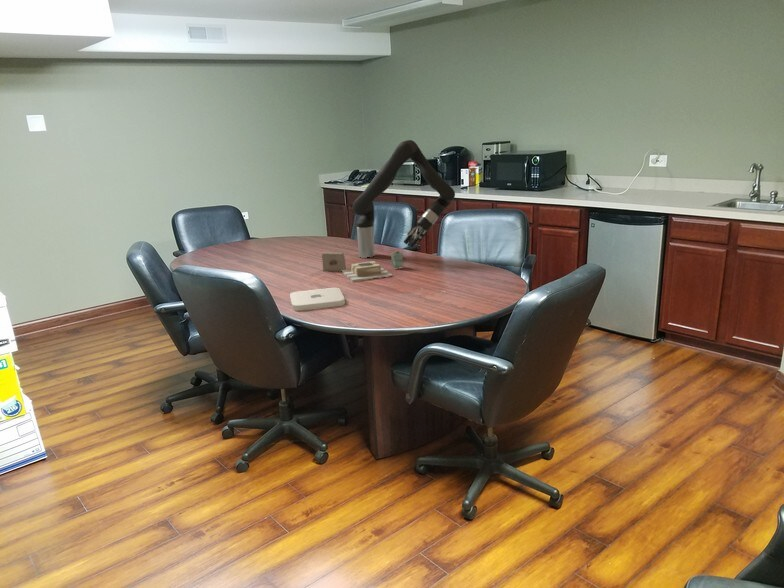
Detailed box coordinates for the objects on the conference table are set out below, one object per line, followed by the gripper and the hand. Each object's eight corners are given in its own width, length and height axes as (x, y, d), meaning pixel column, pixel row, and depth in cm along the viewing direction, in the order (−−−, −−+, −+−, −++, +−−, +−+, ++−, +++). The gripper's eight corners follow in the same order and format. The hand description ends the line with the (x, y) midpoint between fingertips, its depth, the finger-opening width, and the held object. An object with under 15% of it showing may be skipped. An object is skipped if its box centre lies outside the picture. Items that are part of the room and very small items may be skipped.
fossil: (322, 271, 302) (321, 253, 299) (325, 269, 305) (324, 251, 303) (343, 271, 298) (342, 253, 295) (346, 270, 301) (345, 252, 298)
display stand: (341, 272, 297) (340, 262, 296) (378, 267, 303) (378, 257, 301) (352, 282, 277) (351, 271, 275) (392, 276, 283) (391, 266, 281)
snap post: (392, 267, 300) (391, 251, 298) (400, 266, 301) (399, 250, 299) (394, 269, 296) (393, 252, 294) (402, 268, 297) (402, 251, 295)
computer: (290, 298, 258) (289, 292, 257) (339, 292, 262) (338, 286, 261) (293, 312, 237) (292, 306, 236) (346, 306, 241) (345, 300, 241)
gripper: (417, 213, 303) (398, 237, 302) (427, 217, 290) (407, 242, 289) (427, 222, 306) (408, 246, 305) (438, 226, 293) (417, 251, 292)
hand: (407, 244), depth 297 cm, fingers open, 8 cm apart
